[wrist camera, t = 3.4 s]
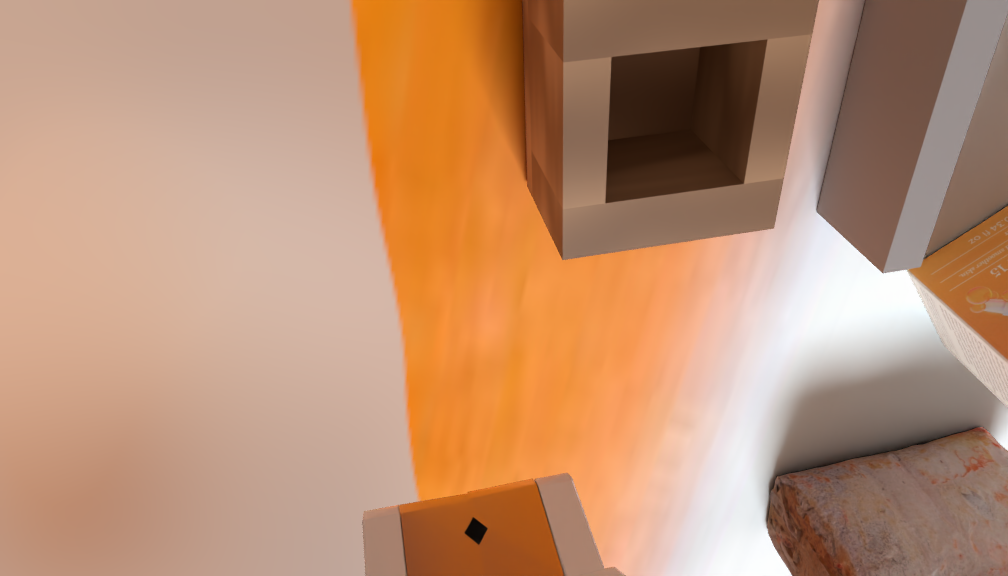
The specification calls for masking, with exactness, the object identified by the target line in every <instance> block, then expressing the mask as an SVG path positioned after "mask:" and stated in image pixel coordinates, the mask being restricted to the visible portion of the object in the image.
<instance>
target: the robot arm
mask: <svg viewBox="0 0 1008 576" xmlns="http://www.w3.org/2000/svg"><path fill="white" fill-rule="evenodd" d="M362 524H363V539H364V558H365V574H366V576H625V575H624V574H623V573H622V572H620V571H619V570H618V569H617V568H615V567H611V568H605V569H604V566H603V563H602V560H601V557H600V555H599V552H598V549H597V546H596V543H595V541H594V538H593V535H592V532H591V529H590V527H589V524H588V521H587V518H586V515H585V513H584V510H583V507H582V504H581V501H580V499H579V496H578V493H577V490H576V487H575V485H574V482H573V479H572V477H571V476H570V475H569V474H568V473H563V474H558V475H553V476H548V477H543V478H538V479H535V480H533V479H529V480H524V481H519V482H514V483H509V484H504V485H499V486H495V487H490V488H485V489H480V490H475V491H470V492H467V494H462V495H456V496H450V497H444V498H438V499H431V500H425V501H419V502H413V503H408V504H401V505H400V506H399V505H396V506H390V507H385V508H379V509H374V510H369V511H364V514H363V522H362Z"/></svg>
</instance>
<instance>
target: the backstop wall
mask: <svg viewBox="0 0 1008 576" xmlns="http://www.w3.org/2000/svg"><path fill="white" fill-rule="evenodd" d="M1007 15H1008V0H866V2H865V6H864V10H863V15H862V19H861V23H860V28H859V32H858V36H857V41H856V45H855V49H854V53H853V58H852V62H851V66H850V71H849V75H848V79H847V83H846V88H845V92H844V96H843V101H842V105H841V109H840V113H839V118H838V122H837V126H836V131H835V135H834V139H833V144H832V148H831V152H830V156H829V161H828V165H827V169H826V174H825V178H824V182H823V186H822V191H821V195H820V199H819V204H818V208H817V213H819V214H820V215H821V216H822V217H823V218H824V219H825V220H826V221H827V222H828V223H829V224H830V225H831V226H833V227H834V228H835V229H836V230H837V231H838V232H839V233H840V234H841V235H842V236H843V237H844V238H845V239H846V240H848V241H849V242H850V243H851V244H852V245H853V246H854V247H855V248H856V249H857V250H858V251H859V252H860V253H862V254H863V255H864V256H865V257H866V258H867V259H868V260H869V261H870V262H871V263H872V264H873V265H874V266H876V267H877V268H878V269H879V270H880V271H881V272H882V273H887V272H894V271H900V270H906V269H912V268H918V267H921V265H922V262H923V259H924V256H925V253H926V250H927V247H928V244H929V241H930V238H931V235H932V233H933V230H934V227H935V224H936V221H937V218H938V215H939V212H940V209H941V206H942V204H943V201H944V198H945V195H946V192H947V189H948V186H949V183H950V180H951V177H952V174H953V172H954V169H955V166H956V163H957V160H958V157H959V154H960V151H961V148H962V145H963V142H964V140H965V137H966V134H967V131H968V128H969V125H970V122H971V119H972V116H973V113H974V110H975V108H976V105H977V102H978V99H979V96H980V93H981V90H982V87H983V84H984V81H985V79H986V76H987V73H988V70H989V67H990V64H991V61H992V58H993V55H994V52H995V49H996V47H997V44H998V41H999V38H1000V35H1001V32H1002V29H1003V26H1004V23H1005V20H1006V17H1007Z"/></svg>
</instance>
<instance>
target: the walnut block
mask: <svg viewBox="0 0 1008 576" xmlns="http://www.w3.org/2000/svg"><path fill="white" fill-rule="evenodd" d="M818 2H819V0H522V8H523V44H524V81H525V118H526V154H527V187H528V189H529V191H530V193H531V195H532V197H533V199H534V201H535V203H536V205H537V208H538V210H539V212H540V214H541V216H542V218H543V220H544V222H545V224H546V226H547V228H548V231H549V233H550V235H551V237H552V239H553V241H554V243H555V245H556V247H557V249H558V251H559V253H560V256H561V258H562V260H566V259H573V258H579V257H586V256H593V255H599V254H606V253H613V252H619V251H626V250H633V249H639V248H646V247H653V246H659V245H666V244H673V243H680V242H686V241H693V240H700V239H706V238H713V237H720V236H726V235H733V234H740V233H746V232H753V231H760V230H766V229H773V228H774V225H775V220H776V215H777V210H778V205H779V200H780V195H781V190H782V184H783V179H784V174H785V169H786V164H787V159H788V154H789V149H790V144H791V139H792V134H793V129H794V124H795V119H796V114H797V108H798V103H799V98H800V93H801V88H802V83H803V78H804V73H805V68H806V63H807V58H808V53H809V48H810V43H811V38H812V32H813V27H814V22H815V17H816V12H817V7H818Z"/></svg>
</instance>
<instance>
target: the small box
mask: <svg viewBox="0 0 1008 576" xmlns="http://www.w3.org/2000/svg"><path fill="white" fill-rule="evenodd" d="M907 272H908V274H909V275H910V277H911V279H912V281H913V283H914V285H915V287H916V289H917V292H918V294H919V296H920V298H921V300H922V302H923V304H924V306H925V308H926V310H927V312H928V314H929V316H930V318H931V320H932V322H933V324H934V326H935V329H936V331H937V333H938V335H939V337H940V339H941V341H942V343H943V344H944V345H945V347H946V348H947V349H948V350H949V351H950V352H951V353H952V354H953V355H954V356H955V357H956V358H957V359H958V360H959V361H960V362H961V363H962V364H963V365H964V366H965V367H966V368H967V369H968V370H969V371H970V372H971V373H972V374H973V375H975V376H976V377H977V378H978V379H979V380H980V381H981V382H982V383H983V384H984V385H985V386H986V387H987V388H988V389H989V390H990V391H991V392H992V393H993V394H994V395H995V396H996V397H997V398H998V399H999V400H1000V401H1001V402H1002V403H1003V404H1004V405H1005V406H1006V407H1007V408H1008V206H1007V207H1005V208H1004V209H1002V210H1001V211H999V212H998V213H996V214H994V215H993V216H991V217H990V218H988V219H987V220H985V221H984V222H982V223H981V224H979V225H977V226H976V227H974V228H973V229H971V230H970V231H968V232H966V233H965V234H963V235H962V236H960V237H959V238H957V239H955V240H954V241H952V242H951V243H949V244H948V245H946V246H944V247H943V248H941V249H940V250H938V251H937V252H935V253H933V254H932V255H930V256H929V257H927V258H926V259H924V260H923V262H922V265H921V267H918V268H912V269H907Z"/></svg>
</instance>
